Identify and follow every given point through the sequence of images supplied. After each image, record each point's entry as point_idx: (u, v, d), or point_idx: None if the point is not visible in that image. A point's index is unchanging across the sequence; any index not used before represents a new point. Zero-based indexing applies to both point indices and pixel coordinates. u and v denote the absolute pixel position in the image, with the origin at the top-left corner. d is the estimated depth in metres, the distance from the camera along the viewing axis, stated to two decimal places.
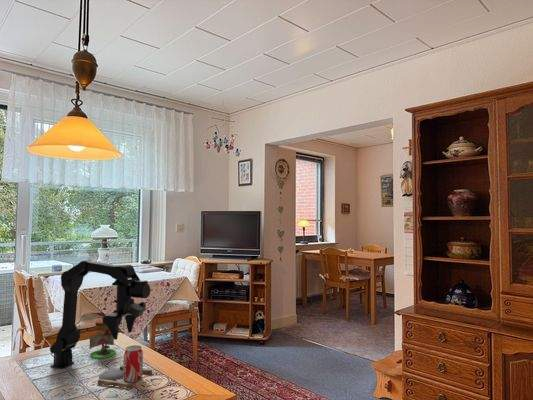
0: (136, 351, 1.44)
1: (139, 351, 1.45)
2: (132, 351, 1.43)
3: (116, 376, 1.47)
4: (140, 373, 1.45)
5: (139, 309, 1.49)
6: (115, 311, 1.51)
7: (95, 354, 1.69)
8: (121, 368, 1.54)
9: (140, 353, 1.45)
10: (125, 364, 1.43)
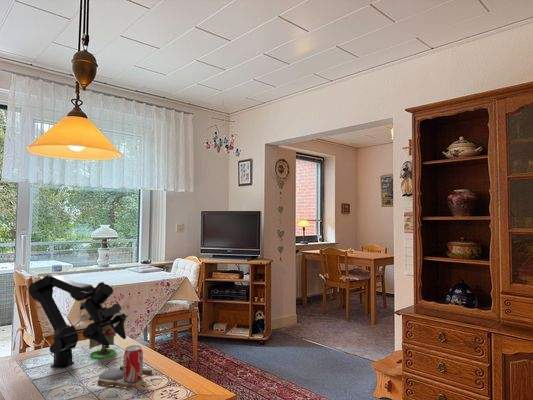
0: (136, 351, 1.44)
1: (139, 351, 1.45)
2: (132, 351, 1.43)
3: (116, 376, 1.47)
4: (140, 373, 1.45)
5: (111, 307, 1.49)
6: None
7: (95, 354, 1.69)
8: (121, 368, 1.54)
9: (140, 353, 1.45)
10: (125, 364, 1.43)
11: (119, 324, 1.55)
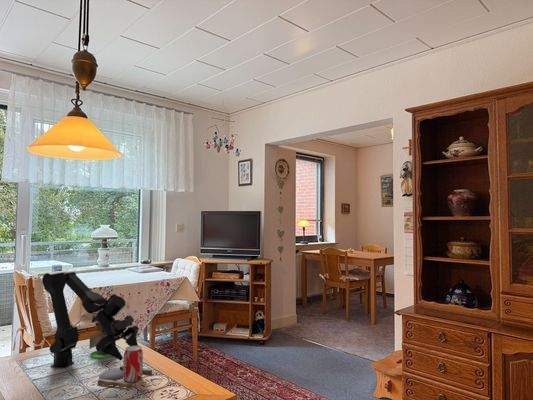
0: (136, 351, 1.44)
1: (139, 351, 1.45)
2: (132, 351, 1.43)
3: (116, 376, 1.47)
4: (140, 373, 1.45)
5: None
6: None
7: (95, 354, 1.69)
8: (121, 368, 1.54)
9: (140, 353, 1.45)
10: (125, 364, 1.43)
11: (132, 336, 1.53)
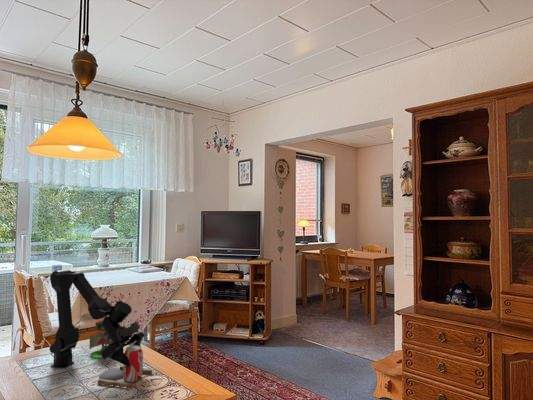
0: (136, 351, 1.44)
1: (139, 351, 1.45)
2: (132, 351, 1.43)
3: (116, 376, 1.47)
4: (140, 373, 1.45)
5: (130, 326, 1.46)
6: None
7: (95, 354, 1.69)
8: (121, 368, 1.54)
9: (140, 353, 1.45)
10: None
11: (136, 344, 1.51)
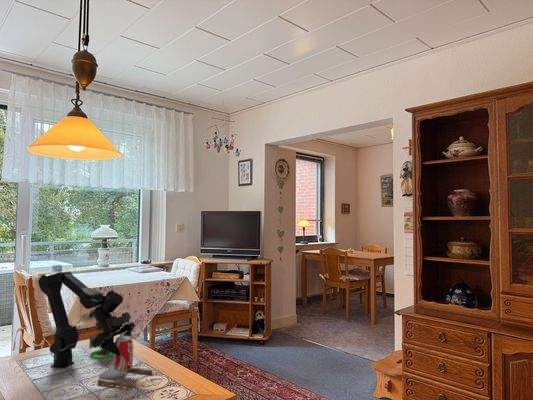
0: (126, 341, 1.45)
1: (129, 341, 1.46)
2: (122, 341, 1.45)
3: (116, 376, 1.47)
4: (130, 363, 1.47)
5: None
6: None
7: (95, 354, 1.69)
8: None
9: (130, 343, 1.46)
10: None
11: (126, 334, 1.52)
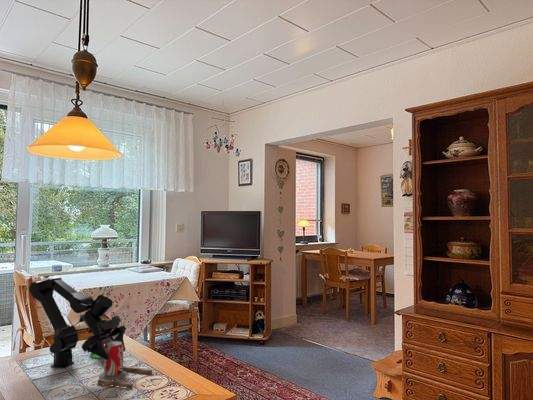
0: (116, 346, 1.48)
1: (119, 346, 1.49)
2: (112, 346, 1.47)
3: (116, 376, 1.47)
4: (121, 368, 1.49)
5: (110, 320, 1.49)
6: None
7: (95, 354, 1.69)
8: None
9: (120, 348, 1.49)
10: None
11: (118, 336, 1.55)
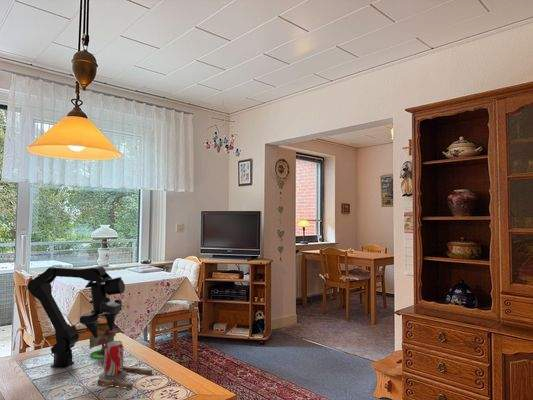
0: (116, 346, 1.48)
1: (119, 346, 1.49)
2: (112, 346, 1.47)
3: (116, 376, 1.47)
4: (121, 368, 1.49)
5: (114, 306, 1.55)
6: (92, 311, 1.57)
7: (95, 354, 1.69)
8: None
9: (120, 348, 1.49)
10: (106, 359, 1.47)
11: (112, 315, 1.63)
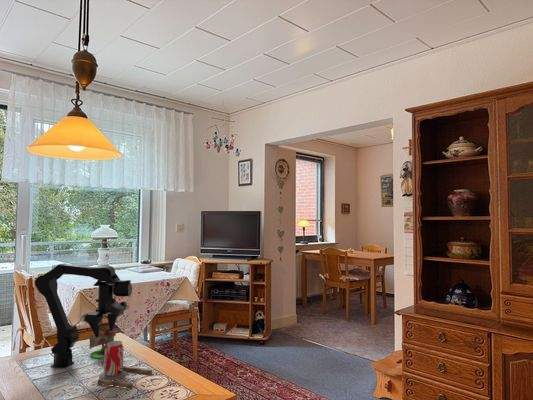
0: (116, 346, 1.48)
1: (119, 346, 1.49)
2: (112, 346, 1.47)
3: (116, 376, 1.47)
4: (121, 368, 1.49)
5: (119, 308, 1.57)
6: (97, 310, 1.58)
7: (95, 354, 1.69)
8: None
9: (120, 348, 1.49)
10: (105, 359, 1.47)
11: (114, 316, 1.65)
